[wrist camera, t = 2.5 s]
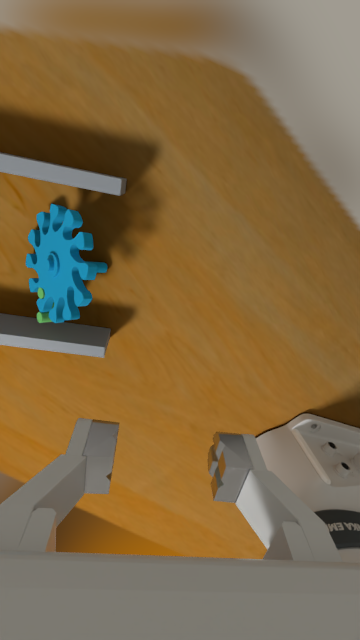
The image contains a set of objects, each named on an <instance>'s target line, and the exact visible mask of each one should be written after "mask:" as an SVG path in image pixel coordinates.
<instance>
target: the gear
mask: <svg viewBox="0 0 360 640" xmlns="http://www.w3.org/2000/svg"><path fill="white" fill-rule="evenodd" d="M37 222H38V225H39V228H40V230H34V229H32V230H31V231H30V233H29V236H28V240H29V242H30V243H31V244H32V245H33V247H34V249H35V252H36V254H27V257H26V266H27V267H28V268H34V269H35V270H36V272H37V273H38V276H39V278H30V279H29V287H30V291H31V292H38V296H39V299H38V300H37V306H38V308H39V311H40V312H38V313H37V320H38V322H39V323H45V322H54V323H62V322H64V321H65V320H74V319H79V318H80V312H79V309H78V306H87V305H88V304H89V303H90V302H91V300H92V294H91V293H90V291H88V290H87V289H86V287H85V286H84V284H83V281H82V279H83V280H94V279H95V277H96V273H105V272H106V271H107V264H106V263H105V262H89V261H84V260H83V259H82V258H81V257H80V255H79V249H81V250H92V249H93V237H92V234H91V233H85V232H79V233H78V234H77V235H76V237H75V238H74V239H73V238H72V231H73V229H74V228H80V227H81V226H82V223H83V220H82V217H81V215H80V214H79V212H78V211H74V210H69V209H68V210H67V209H66V208H65V207H63V206H60V205H55V204H51V206H50V213H46V212H40V213H39V214H37ZM62 222H63V224H62ZM61 225H62V226H61Z"/></svg>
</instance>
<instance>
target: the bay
mask: <svg viewBox="0 0 360 640" xmlns="http://www.w3.org/2000/svg"><path fill="white" fill-rule="evenodd" d="M0 172H5V173H10V174H15V175H19V176H24V177H29V178H34V179H39V180H44V181H49V182H54V183H59V184H64V185H69V186H74V187H79V188H84V189H89V190H94V191H99V192H104V193H109V194H114V195H118V196H121V195H123V194H125V191H126V182H127V179H125V178H120V177H116V176H111V175H106V174H101V173H97V172H92V171H87V170H82V169H78V168H73V167H68V166H63V165H59V164H54V163H49V162H44V161H40V160H35V159H30V158H25V157H21V156H16V155H11V154H6V153H2V152H0ZM110 332H111V329H110V328H102V327H95V326H88V325H81V324H74V323H67V322H62V323H54V322H45V323H39V322H38V320H37V318H31V317H24V316H17V315H9V314H2V313H0V345H7V346H15V347H23V348H31V349H39V350H47V351H55V352H63V353H71V354H79V355H87V356H95V357H103V358H104V355H105V352H106V349H107V346H108V342H109V339H110Z"/></svg>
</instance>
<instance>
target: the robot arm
mask: <svg viewBox="0 0 360 640" xmlns="http://www.w3.org/2000/svg"><path fill="white" fill-rule="evenodd" d="M118 430H119V423H118V422H110V421H102V420H94V419H93V420H91V419H83V418H79V419H78V420H77V422H76V425H75V428H74V431H73V434H72V437H71V440H70V443H69V446H68V449H67V452H66V455H62V454H61V455H60V456H59V457H57V458H56V459H55V460H54V461H53V462H51V463H50V464H49V465H48V466H47V467H45V468H44V469H43V470H42V471H40V472H39V473H38V474H37V475H36V476H34V477H33V478H32V479H31V480H29V481H28V482H27V483H26V484H25V485H23V486H22V487H21V488H20V489H18V490H17V491H16V492H15V493H14V494H12V495H11V496H10V497H9V498H7V499H6V500H5V501H4V502H3V503H1V505H0V640H360V428H356V427H353V426H349V425H346V424H343V423H339V422H336V421H333V420H329V419H326V418H322V417H319V416H316V415H312V414H308V413H306V414H302V415H300V416H298V417H296V418H295V419H293V420H292V421H290V422H289V423H288V424H286V425H284V426H282V427H280V428H277V429H274V430H271V431H269V432H266V433H264V434H262V435H261V436H259V437H257V438H256V439H255V437H254V435H249V434H237V433H226V432H216V433H215V434H214V437H213V442H214V445H212V446H211V447H210V449H209V453H208V470H209V473H210V475H211V476H212V477H213V478H212V481H211V488H212V494H213V500H214V501H223V502H234V503H236V505H237V507H238V508H239V510H240V511H241V512H242V514H243V515H244V517H245V518H246V520H247V521H248V522H249V524H250V525H251V527H252V528H253V530H254V531H255V532H256V534H257V535H258V537H259V538H260V539H261V541H262V542H263V544H264V545H265V547H266V548H267V552H266V554H265V556H264V557H263V559H235V558H208V557H180V556H151V555H125V554H97V553H96V554H95V553H68V552H55V545H56V544H55V543H56V527H57V526H58V525H59V523H60V522H61V521H62V520H63V518H64V517H65V516H66V515H67V514H68V513H69V511H70V510H71V509H72V508H73V507H74V506H75V504H76V503H77V502H78V501H79V500H80V498H81V497H82V496H83V495H84V493H94V494H109V488H110V482H111V476H112V469H113V463H114V457H115V450H116V444H117V436H118Z"/></svg>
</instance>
